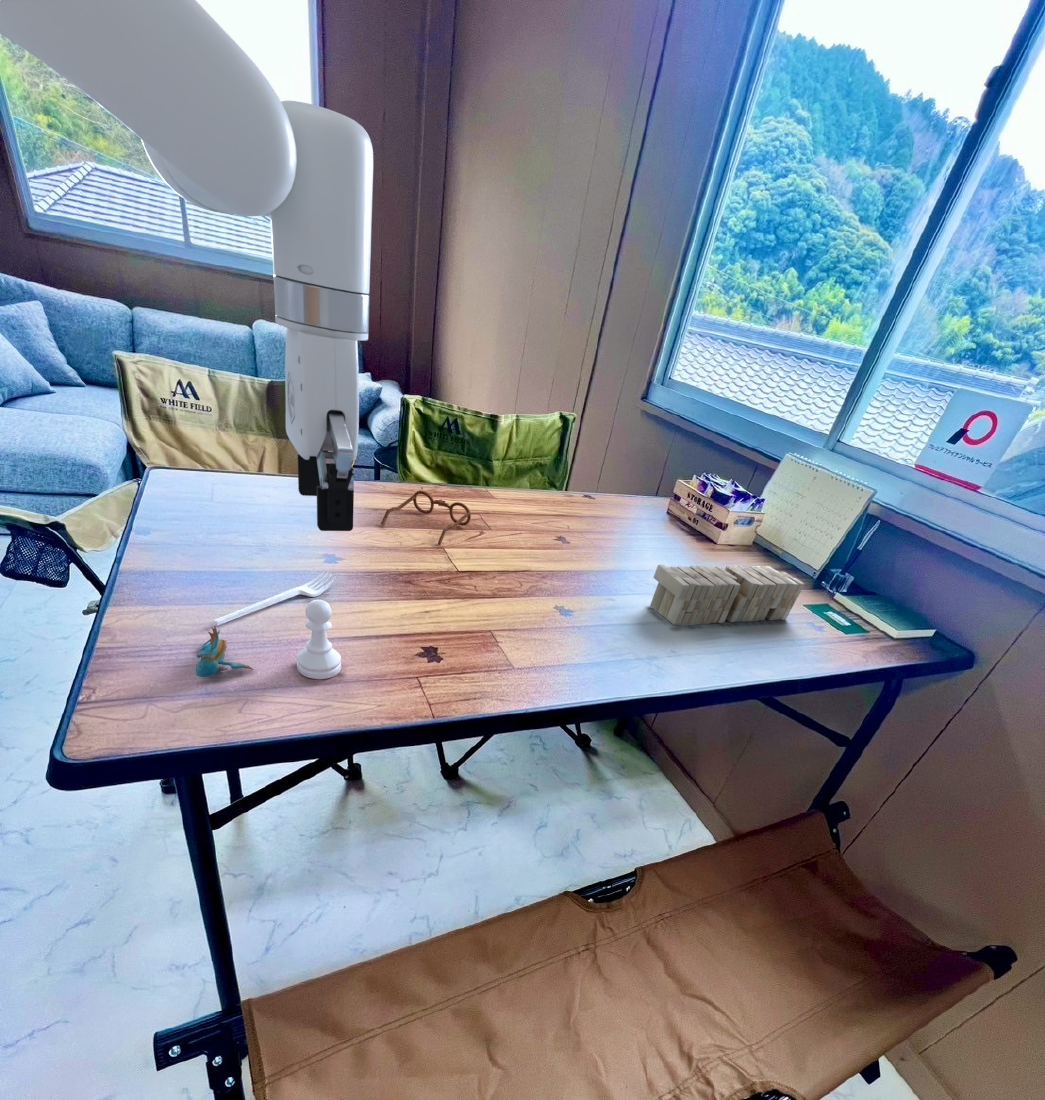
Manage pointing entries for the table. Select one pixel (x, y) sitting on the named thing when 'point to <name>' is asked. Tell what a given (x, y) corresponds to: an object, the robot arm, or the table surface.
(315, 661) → the chess pawn
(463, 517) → the glasses
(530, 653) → the table surface
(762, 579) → the block tower
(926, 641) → the table surface
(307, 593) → the fork
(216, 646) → the dragon figurine
